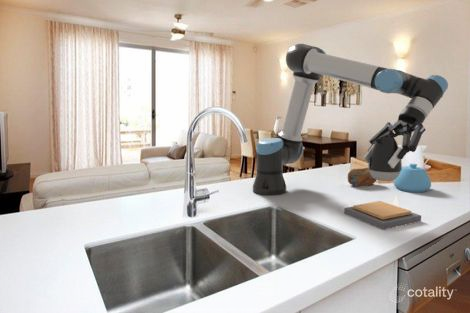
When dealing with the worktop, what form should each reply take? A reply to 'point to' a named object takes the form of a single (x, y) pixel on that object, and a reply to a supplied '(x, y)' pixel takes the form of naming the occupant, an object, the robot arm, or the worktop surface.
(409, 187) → the sugar bowl
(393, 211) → the pad
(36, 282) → the worktop surface
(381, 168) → the dark rounded piece
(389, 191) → the worktop surface
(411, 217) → the dock
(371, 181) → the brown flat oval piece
